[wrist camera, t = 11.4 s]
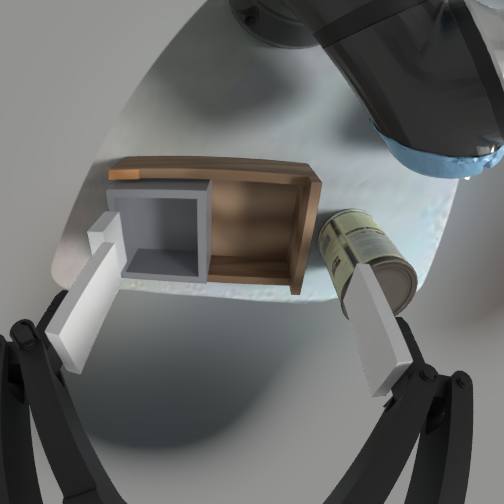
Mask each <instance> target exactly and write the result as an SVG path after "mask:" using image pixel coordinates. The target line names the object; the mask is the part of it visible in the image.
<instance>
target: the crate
mask: <svg viewBox="0 0 504 504" xmlns="http://www.w3.org/2000/svg"><path fill="white" fill-rule="evenodd" d="M106 198H107V205H108V211H105V212H104V213H103V214H102V215H101V216H100V217H99V218H98V220H97V221H96V222H95V223H94V224H93V225H92V226H91V228H90V229H89V230H88V231H87V233H88V238H89V243H90V247H91V252H92V256H93V255H94V253H95V252H96V250H97V249H98V248H99V246H100V245H101V243H102V242H110V243H115V248H116V253H117V259H118V264H119V269H120V274H121V278H133V279H146V280H159V281H174V282H190V283H207V278H208V271H209V265H210V259H211V224H212V179H182V178H139V179H118V180H116V181H115V182H113V183H112V184H111V185H110V186H109V187H108V188H107V189H106Z"/></svg>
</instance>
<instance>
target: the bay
mask: <svg viewBox="0 0 504 504" xmlns="http://www.w3.org/2000/svg"><path fill="white" fill-rule="evenodd" d="M108 175H109V180H118V179H139V178H182V179H212V224H211V259H210V265H209V271H208V278H207V282H220V283H240V284H263V285H289V286H290V291H291V295H300V292H301V287H302V283H303V278H304V274H305V269H306V265H307V260H308V255H309V250H310V245H311V240H312V235H313V230H314V225H315V220H316V215H317V209H318V204H319V199H320V193H321V187H322V182H321V180H320V179H319V178H318V176H317V175H316V174H315V172H314V171H313V170H312V168H311V167H310V166H309V164H306V163H296V162H286V161H274V160H262V159H247V158H229V157H202V156H137V157H126V158H124V159H123V160H121V161H120V162H119V163H117V164H116V165H115V166H113V167H112V168H111V169H109V170H108ZM131 279H133V278H131ZM144 280H146V279H144Z"/></svg>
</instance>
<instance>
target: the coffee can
mask: <svg viewBox="0 0 504 504" xmlns="http://www.w3.org/2000/svg"><path fill="white" fill-rule="evenodd" d="M318 248H319V251H320V253H321V255H322V257H323V259H324V262H325V264H326V267H327V269H328V272H329V274H330V277H331V279H332V282H333V285H334V287H335V289H336V292H337V295H338V297H339V300H340V302H341V307H342V311H343V313H344V315H345V317H346V318H347V319H348V320H349V318H348V314H347V311H346V308H345V305H344V302H343V300H344V297H345V294H346V292H347V289H348V286H349V284H350V281H351V278H352V276H353V273H354V270H355V267H356V264H357V263H360V264H369V265H370V267H371V269H372V271H373V273H374V275H375V277H376V279H377V281H378V283H379V285H380V287H381V289H382V291H383V293H384V295H385V297H386V300H387V302H388V304H389V306H390V308H391V310H392V313H393V315H394V317H395V316H396V315H398V314H399V313H400V312H401V311H403V310H404V309H405V308H406V307H407V305H408V304H409V303H410V302H411V300H412V298H413V297H414V295H415V292H416V289H417V284H418V280H417V274H416V272H415V270H414V268H413V267H412V266H411V265H410V264H409V263H408V262H407V261H406V259H405V258H404V257H403V256H402V254H401V253H400V252H399V250H398V249H397V248H396V246H395V245H394V244H393V243H392V241H391V240H390V239H389V238H388V236H387V235H386V234H385V233H384V232H383V230H382V229H381V228H380V227H379V225H378V224H377V223H376V222H375V220H374V219H373V217H372V216H371V215H369V214H368V213H367V212H365V211H362V210H358V209H348V210H343V211H341V212H338V213H336V214H335V215H333V216H332V217H330V218H329V219H328V220H327V221H326V222H325V224H324V225H323V227H322V228H321V231H320V233H319V237H318Z"/></svg>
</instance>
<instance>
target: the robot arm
mask: <svg viewBox="0 0 504 504" xmlns="http://www.w3.org/2000/svg"><path fill="white" fill-rule="evenodd" d="M230 4H231V8H232V11H233V13H234V15H235V17H236V19H237V20H238V22H239V23H240V24H241V26H242V27H243V28H244V29H245V30H246V31H248V32H249V33H250V34H251V35H253V36H254V37H256V38H257V39H259V40H261V41H263V42H265V43H268V44H271V45H274V46H277V47H282V48H289V49H303V48H310V47H314V46H317V45H321V46H322V48H323V50H324V51H325V52H326V54H327V55H328V56H329V58H330V59H331V60H332V61H333V63H334V64H335V66H336V67H337V68H338V70H339V71H340V72H341V74H342V75H343V77H344V78H345V80H346V81H347V82H348V84H349V85H350V87H351V88H352V90H353V91H354V93H355V94H356V96H357V97H358V99H359V100H360V102H361V104H362V105H363V107H364V108H365V110H366V112H367V113H368V115H369V116H370V122H371V124H372V126H373V128H374V129H375V131H376V132H377V133H378V134H379V135H380V136H381V137H382V138H383V140H384V141H385V143H386V144H387V146H388V148H389V149H390V151H391V153H392V154H393V156H394V157H395V158H396V159H397V160H398V161H399V162H401V163H402V164H403V165H404V166H405V167H407V168H408V169H410V170H412V171H414V172H417V173H419V174H422V175H426V176H430V177H436V178H446V179H455V178H465V177H470V176H474V175H477V174H480V173H482V171H483V167H487V168H492V167H493V166H494V165H496V164H497V163H498V162H499V161H500V160H501V158H502V156H503V154H504V8H501V9H493V8H489V7H488V6H486V5H484V4H482V3H480V2H478V1H476V0H230ZM121 284H122V279H121V274H120V269H119V264H118V259H117V253H116V248H115V243H110V242H102V243H101V245H100V246H99V248H98V249H97V250H96V252H95V253H94V255H93V256H92V257H91V259H90V260H89V262H88V263H87V265H86V266H85V267H84V269H83V270H82V272H81V273H80V275H79V276H78V278H77V279H76V281H75V282H74V284H73V285H72V287H71V288H70V290H69V291H67V290H62V291H61V292H60V293H59V294H58V295H56V296H55V298H54V299H53V301H52V302H51V305H50V306H49V307H48V309H47V311H46V312H45V313H44V315H43V317H42V318H41V320H40V322H39V323H38V325H37V327H36V328H35V326H34V324H33V322H32V321H30V320H27V319H23V320H20V321H18V322H16V323H15V324H14V325H13V326H12V328H11V330H10V337H11V338H12V340H13V342H7V341H6V340H5V338H4V336H2V335H0V504H43V502H42V497H41V493H40V488H39V484H38V478H37V473H36V467H35V461H34V454H33V446H32V437H31V426H30V410H29V405H30V408H31V412H32V416H33V419H34V422H35V425H36V428H37V432H38V435H39V437H40V440H41V443H42V446H43V448H44V451H45V454H46V456H47V459H48V461H49V464H50V466H51V469H52V471H53V473H54V476H55V478H56V480H57V482H58V485H59V487H60V489H61V491H62V493H63V496H64V499H63V504H127V503H126V502H125V501H124V500H123V499H122V498H121V496H120V495H119V493H118V492H117V490H116V488H115V487H114V485H113V483H112V482H111V480H110V478H109V477H108V475H107V473H106V471H105V470H104V468H103V466H102V465H101V462H100V460H99V458H98V457H97V455H96V453H95V451H94V449H93V447H92V445H91V443H90V441H89V439H88V437H87V434H86V432H85V430H84V428H83V426H82V423H81V421H80V419H79V416H78V414H77V412H76V409H75V407H74V404H73V402H72V399H71V396H70V394H69V391H68V388H67V386H66V383H65V380H64V377H63V374H62V372H61V370H60V368H61V366H62V364H63V365H64V366H65V368H66V369H67V371H70V372H74V373H78V374H81V372H82V369H83V367H84V365H85V362H86V360H87V357H88V355H89V352H90V350H91V348H92V346H93V343H94V341H95V339H96V336H97V334H98V332H99V330H100V327H101V325H102V323H103V321H104V319H105V317H106V315H107V313H108V310H109V308H110V306H111V304H112V302H113V300H114V298H115V296H116V294H117V292H118V290H119V288H120V286H121ZM343 302H344V305H345V308H346V311H347V314H348V318H349V321H350V324H351V327H352V330H353V334H354V337H355V340H356V344H357V347H358V350H359V354H360V357H361V361H362V364H363V368H364V372H365V375H366V379H367V382H368V387H369V390H370V394H371V397H378V396H386V394H387V393H388V392H389V391H390V390H392V393H393V396H392V397H391V399H389V401H388V402H387V403H386V404H385V405H384V406H383V407H386V408H385V410H384V412H383V413H382V416H381V417H380V419H379V421H378V422H377V424H376V426H375V428H374V429H373V431H372V433H371V435H370V436H369V438H368V440H367V441H366V443H365V445H364V446H363V448H362V449H361V451H360V453H359V454H358V456H357V457H356V459H355V460H354V462H353V463H352V465H351V466H350V468H349V469H348V471H347V472H346V473H345V475H344V476H343V478H342V479H341V480H340V482H339V483H338V485H337V486H336V487H335V489H334V490H333V491H332V493H331V494H330V495H329V496H328V498H327V499H326V500H325V502H324V503H323V504H384V502H385V500H386V499H387V497H388V495H389V494H390V492H391V490H392V488H393V487H394V485H395V483H396V481H397V479H398V477H399V476H400V474H401V472H402V470H403V468H404V466H405V464H406V462H407V460H408V458H409V456H410V454H411V451H412V449H413V447H414V445H415V443H416V440H417V438H418V436H419V433H420V438H419V443H418V449H417V454H416V459H415V463H414V468H413V472H412V476H411V481H410V485H409V488H408V492H407V496H406V499H405V503H404V504H464V502H465V497H466V491H467V485H468V478H469V470H470V461H471V451H472V436H473V384H472V380H471V378H470V376H469V375H468V374H467V373H465V372H463V371H456V372H455V373H454V374H453V375H452V376H451V377H450V376H444V375H440V374H438V372H437V371H436V370H435V368H434V367H432V366H431V365H429V364H426V363H425V361H424V359H423V357H422V354H421V352H420V350H419V347H418V345H417V343H416V341H415V339H414V336H413V334H412V332H411V329H410V327H409V325H408V324H407V323H406V321H404V320H403V318H402V317H394V315H393V313H392V310H391V308H390V306H389V304H388V302H387V300H386V297H385V295H384V293H383V291H382V289H381V287H380V285H379V283H378V281H377V279H376V277H375V275H374V273H373V271H372V269H371V267H370V265H369V264H360V263H357V264H356V267H355V270H354V273H353V276H352V278H351V281H350V284H349V286H348V289H347V292H346V294H345V297H344V300H343Z"/></svg>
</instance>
